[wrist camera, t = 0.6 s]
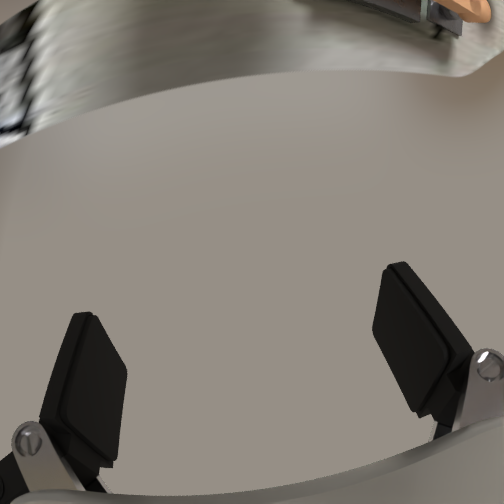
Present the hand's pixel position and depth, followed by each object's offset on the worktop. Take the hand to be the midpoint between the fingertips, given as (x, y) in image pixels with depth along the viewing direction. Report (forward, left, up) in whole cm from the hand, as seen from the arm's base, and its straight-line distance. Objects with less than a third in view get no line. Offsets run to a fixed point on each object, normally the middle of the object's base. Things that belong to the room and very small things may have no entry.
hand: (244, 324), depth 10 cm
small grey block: (-23, +27, -29) cm, 46 cm away
